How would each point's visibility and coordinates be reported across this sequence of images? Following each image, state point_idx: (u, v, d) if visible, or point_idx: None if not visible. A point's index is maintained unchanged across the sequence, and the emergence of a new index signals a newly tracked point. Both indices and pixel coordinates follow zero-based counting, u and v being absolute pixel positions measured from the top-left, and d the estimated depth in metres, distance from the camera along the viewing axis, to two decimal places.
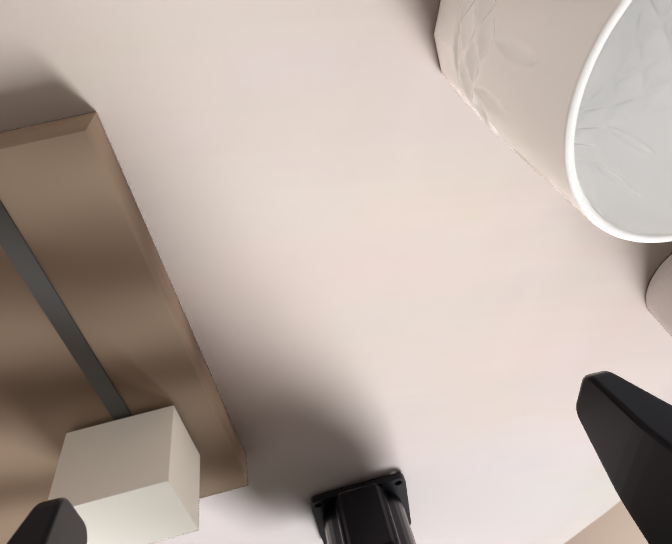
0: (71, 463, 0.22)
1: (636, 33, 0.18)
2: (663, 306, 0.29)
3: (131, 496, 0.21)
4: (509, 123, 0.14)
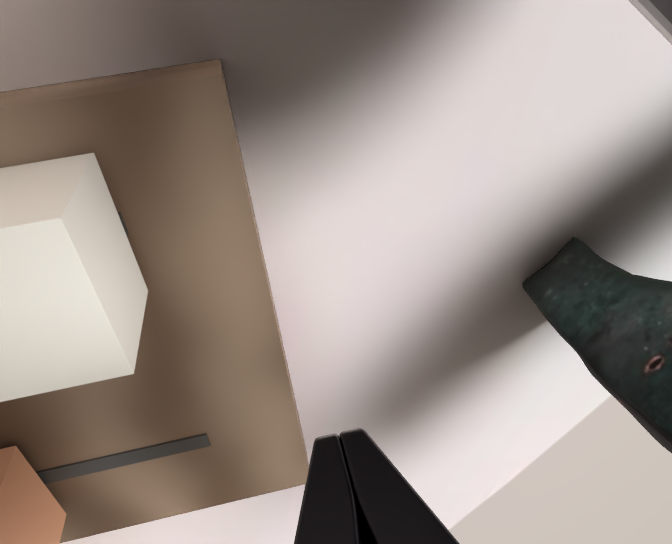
0: None
1: None
2: None
3: None
4: None
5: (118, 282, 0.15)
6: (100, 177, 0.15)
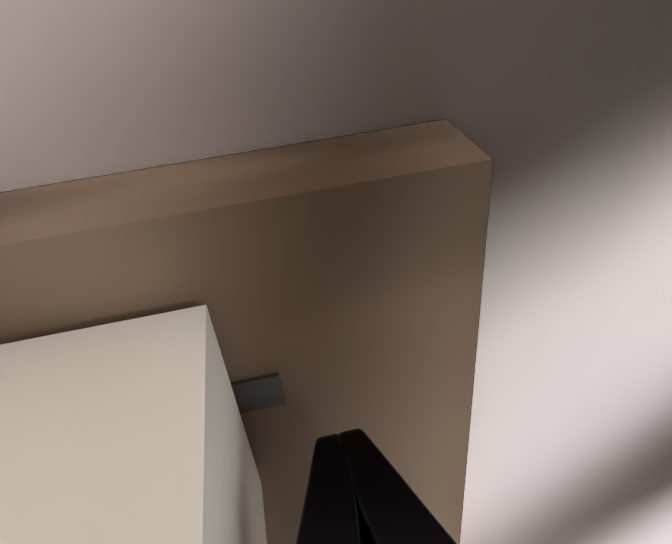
0: None
1: None
2: None
3: None
4: None
5: (251, 540, 0.08)
6: (215, 346, 0.08)
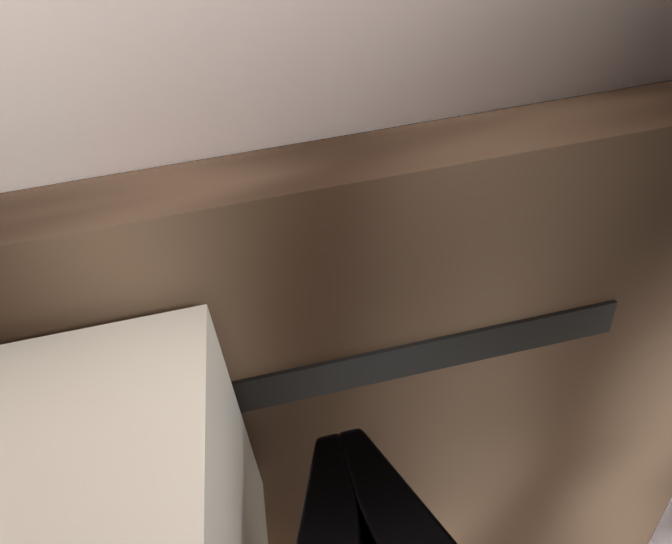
0: None
1: None
2: None
3: None
4: None
5: (252, 538, 0.08)
6: (216, 345, 0.08)
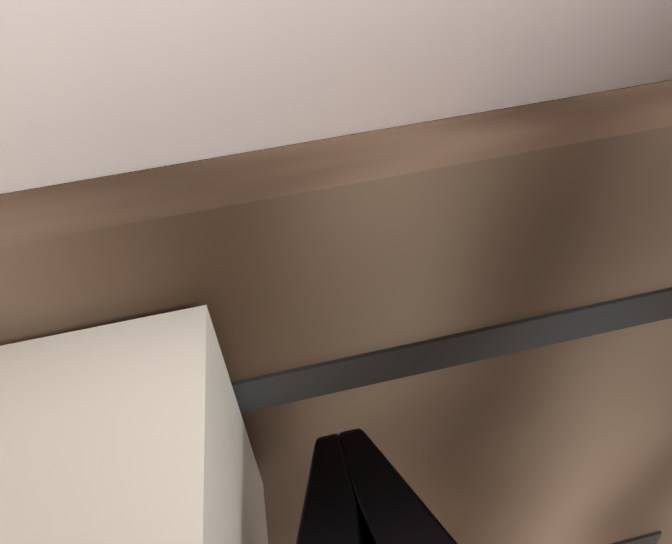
0: None
1: None
2: None
3: None
4: None
5: (251, 539, 0.08)
6: (216, 346, 0.08)
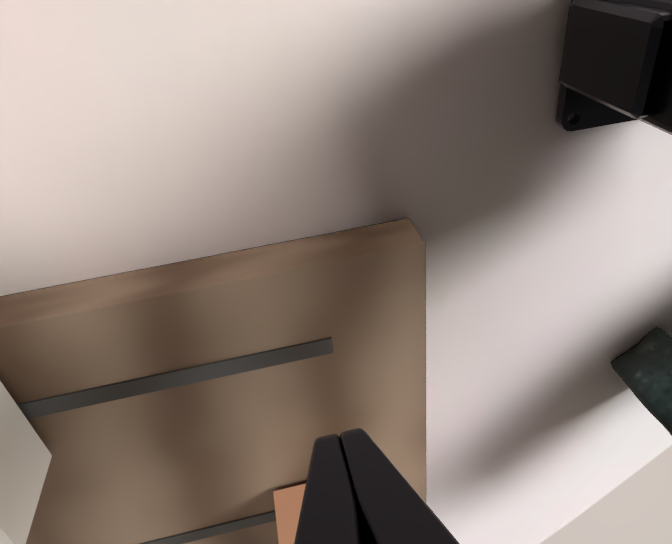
0: None
1: None
2: None
3: None
4: None
5: (12, 475, 0.18)
6: None
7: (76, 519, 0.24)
